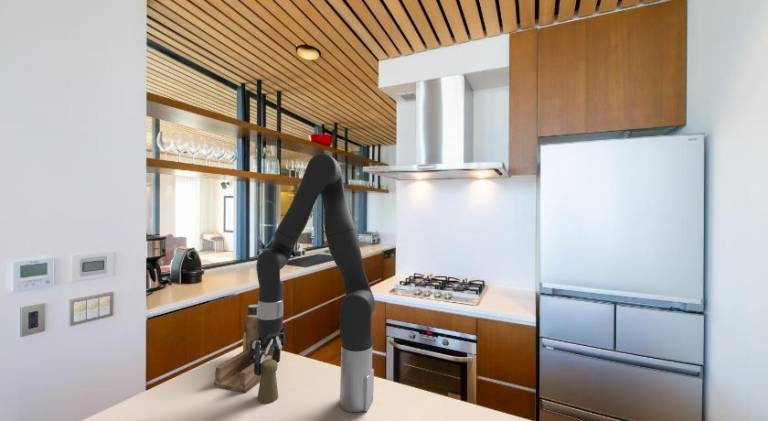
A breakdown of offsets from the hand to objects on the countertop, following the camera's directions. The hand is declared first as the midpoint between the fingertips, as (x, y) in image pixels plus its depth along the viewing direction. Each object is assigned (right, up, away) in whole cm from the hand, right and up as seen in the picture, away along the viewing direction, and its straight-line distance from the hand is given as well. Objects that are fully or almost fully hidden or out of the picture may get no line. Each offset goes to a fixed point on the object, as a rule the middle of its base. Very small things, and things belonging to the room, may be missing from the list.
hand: (267, 368), depth 96 cm
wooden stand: (-11, -9, +11) cm, 18 cm away
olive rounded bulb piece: (0, -9, 0) cm, 9 cm away
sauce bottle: (-15, -9, +25) cm, 31 cm away
